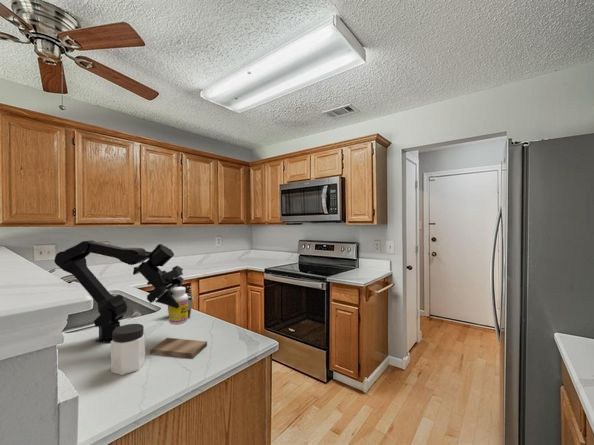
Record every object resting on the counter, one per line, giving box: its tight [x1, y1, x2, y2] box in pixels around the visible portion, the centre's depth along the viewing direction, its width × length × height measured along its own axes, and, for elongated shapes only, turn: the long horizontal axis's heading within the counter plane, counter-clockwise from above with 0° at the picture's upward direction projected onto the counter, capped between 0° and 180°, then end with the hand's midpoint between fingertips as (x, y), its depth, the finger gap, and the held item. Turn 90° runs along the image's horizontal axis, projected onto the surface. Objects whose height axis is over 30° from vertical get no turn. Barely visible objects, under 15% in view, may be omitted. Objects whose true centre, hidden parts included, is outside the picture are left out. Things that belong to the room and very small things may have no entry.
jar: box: [110, 323, 146, 376], centre depth 84 cm, size 9×8×12 cm
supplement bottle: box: [168, 286, 189, 326], centre depth 104 cm, size 7×7×13 cm
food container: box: [167, 292, 195, 319], centre depth 129 cm, size 12×6×10 cm, turn 92°
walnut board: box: [149, 337, 208, 359], centre depth 96 cm, size 16×9×2 cm, turn 80°
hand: (182, 304), depth 104 cm, fingers closed on supplement bottle, 7 cm apart
